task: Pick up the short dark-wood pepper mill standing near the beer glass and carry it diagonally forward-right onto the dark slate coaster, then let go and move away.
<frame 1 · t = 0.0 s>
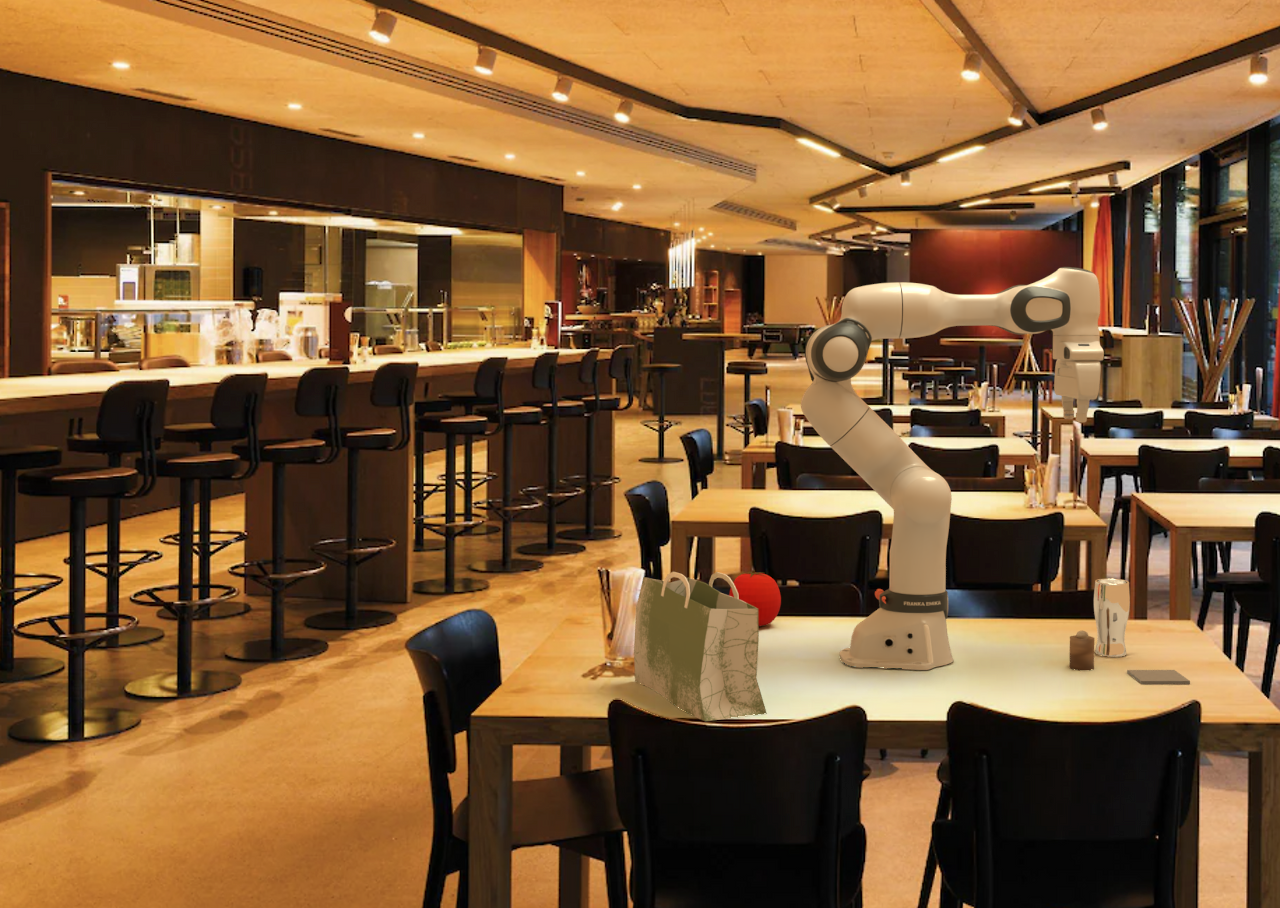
hand: (1074, 420, 298), 48 cm above the table, tool pointing down, fingers open, 8 cm apart
grocery bag: (699, 698, 276), on the table
beer glass: (1110, 655, 307), on the table
pepper mill: (1081, 667, 295), on the table
tomato: (754, 627, 338), on the table
coaster: (1158, 678, 286), on the table
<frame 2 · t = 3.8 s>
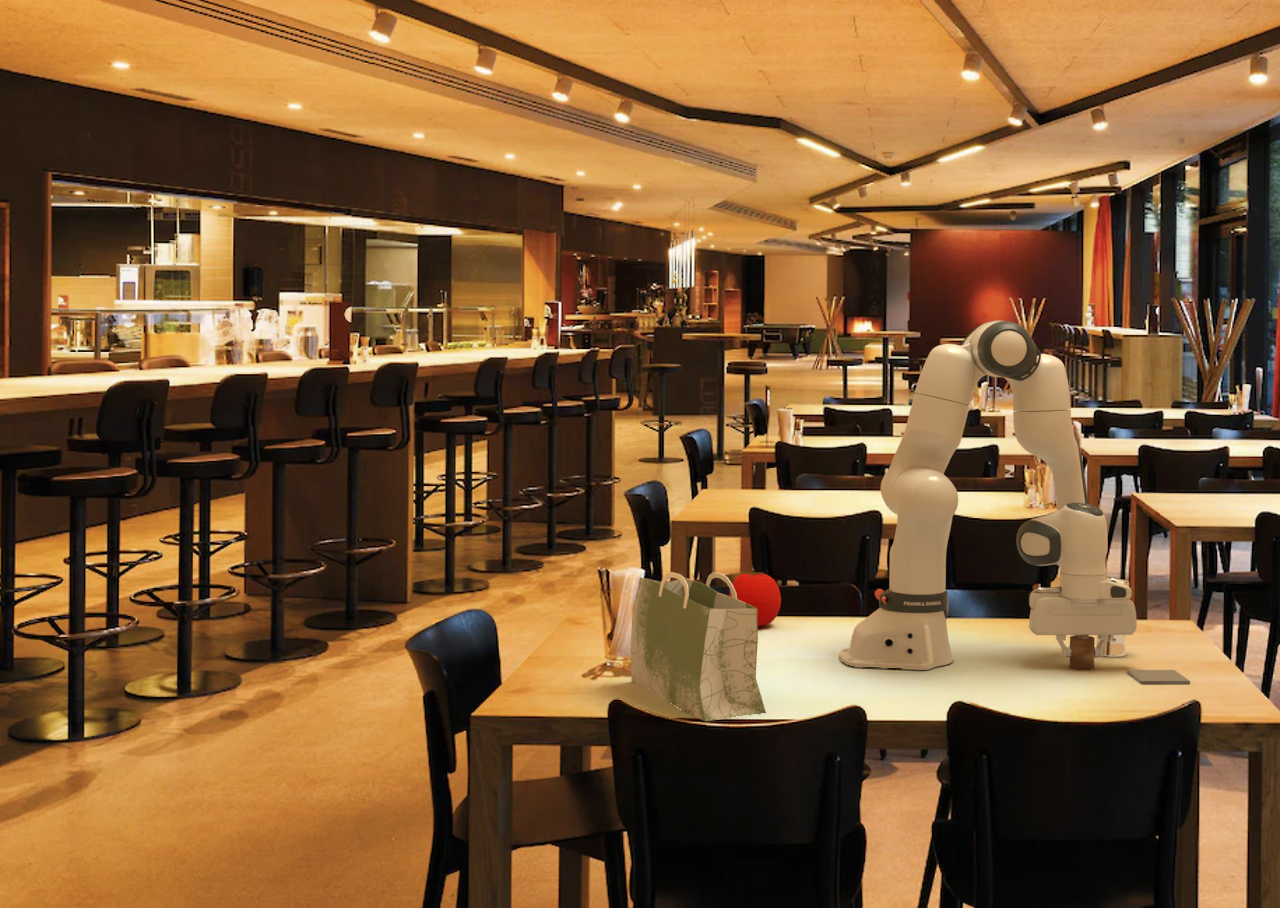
hand: (1081, 657, 295), 2 cm above the table, tool pointing down, fingers closed on pepper mill, 5 cm apart
pepper mill: (1081, 667, 295), on the table, touching gripper
everything else where it was.
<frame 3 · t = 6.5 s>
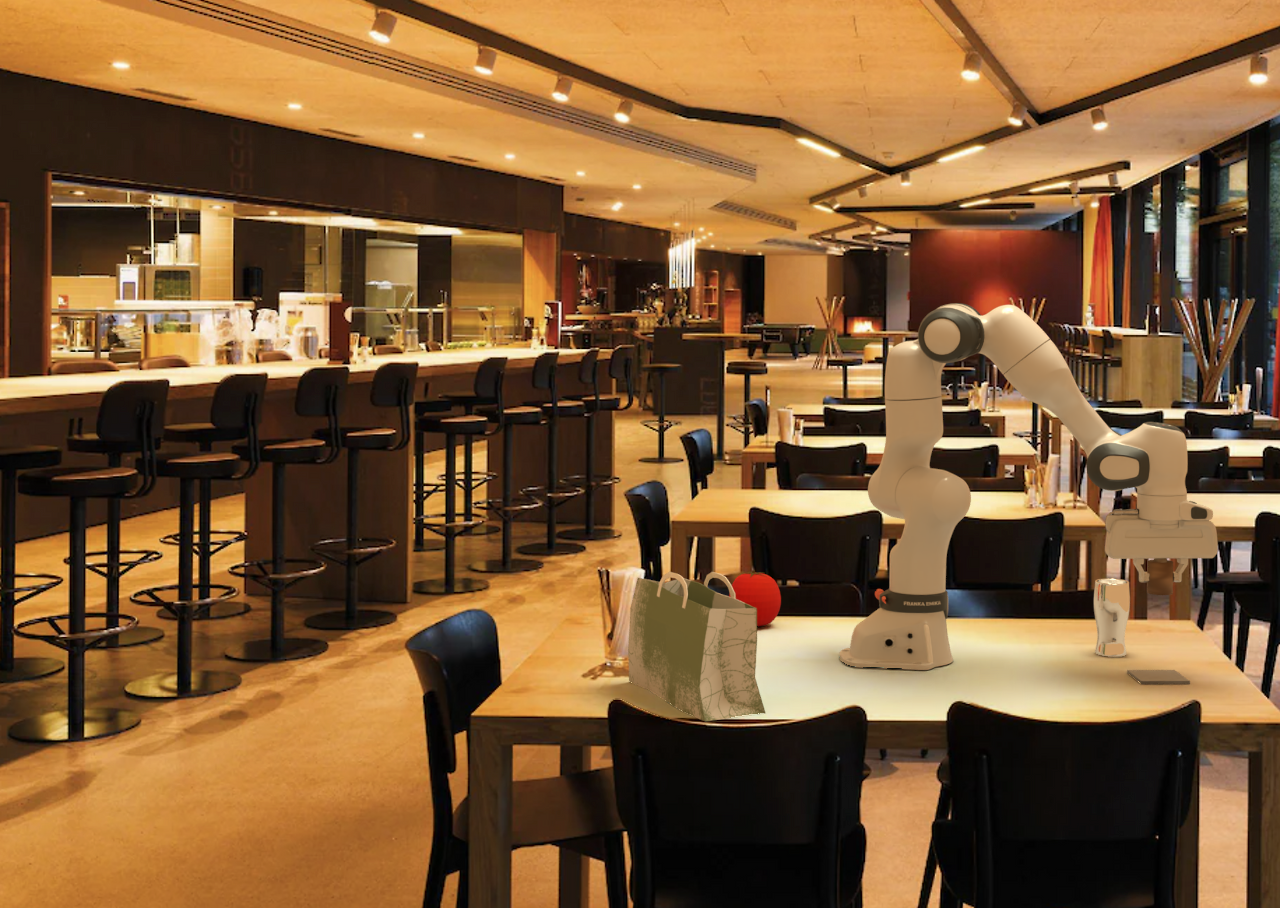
hand: (1160, 581, 284), 19 cm above the table, tool pointing down, fingers closed on pepper mill, 5 cm apart
pepper mill: (1159, 592, 285), point 16 cm above the table, touching gripper
everything else where it was.
when the fingers open (4 cm above the table, at t = 9.4 s): pepper mill drops 1 cm, resting on coaster.
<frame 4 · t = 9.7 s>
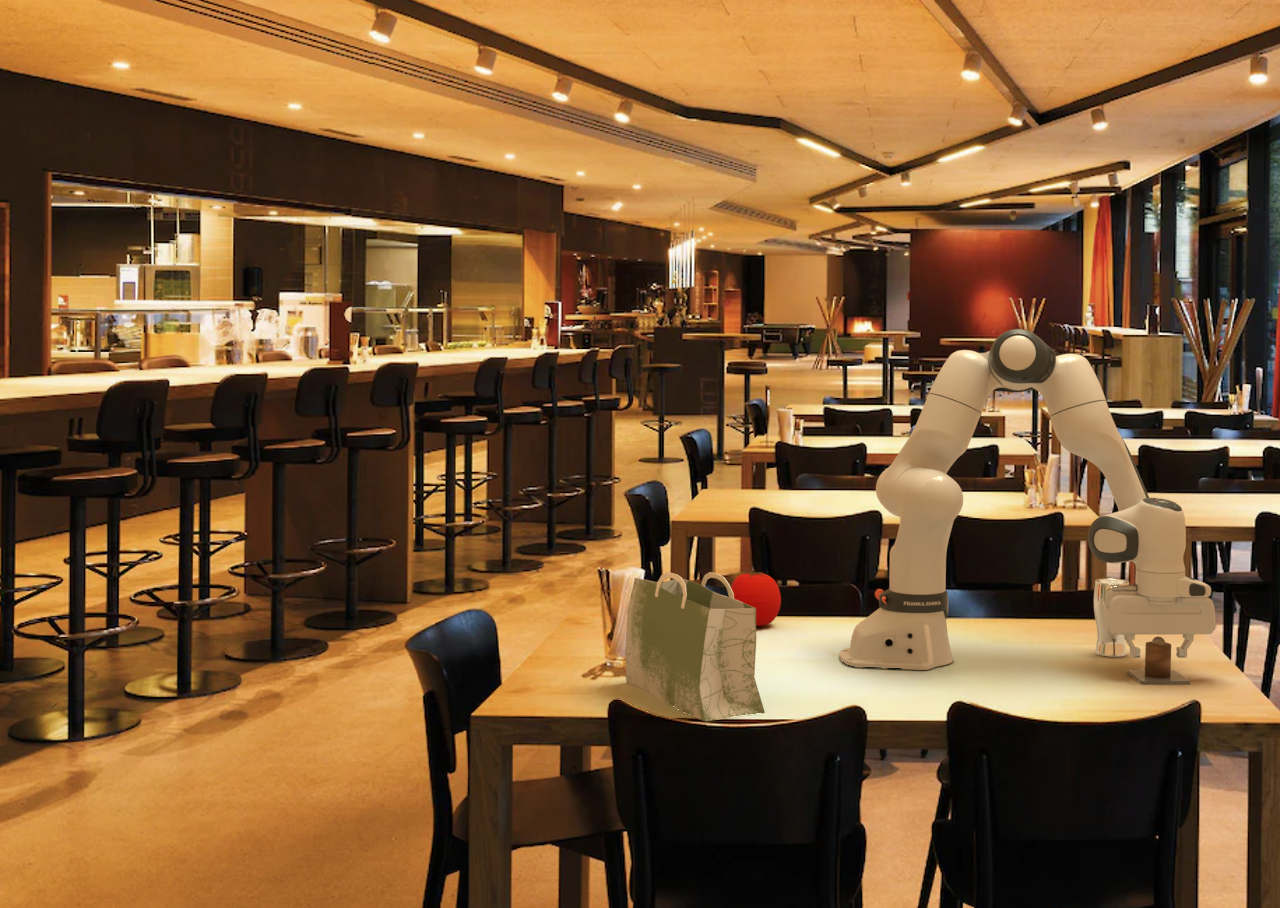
hand: (1158, 657, 286), 4 cm above the table, tool pointing down, fingers open, 7 cm apart
pepper mill: (1157, 675, 286), point 1 cm above the table, touching coaster
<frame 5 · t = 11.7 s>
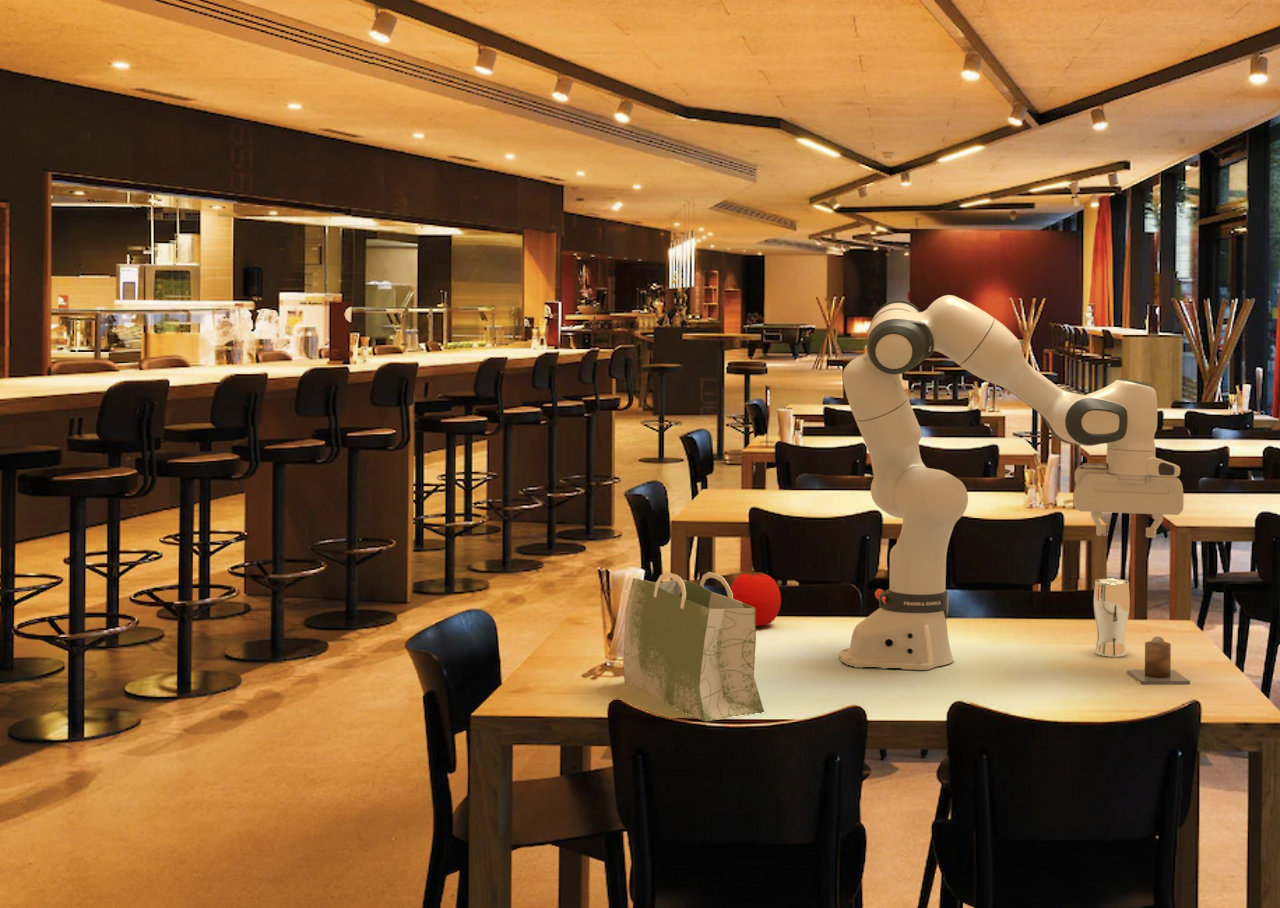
hand: (1125, 536, 289), 26 cm above the table, tool pointing down, fingers open, 8 cm apart
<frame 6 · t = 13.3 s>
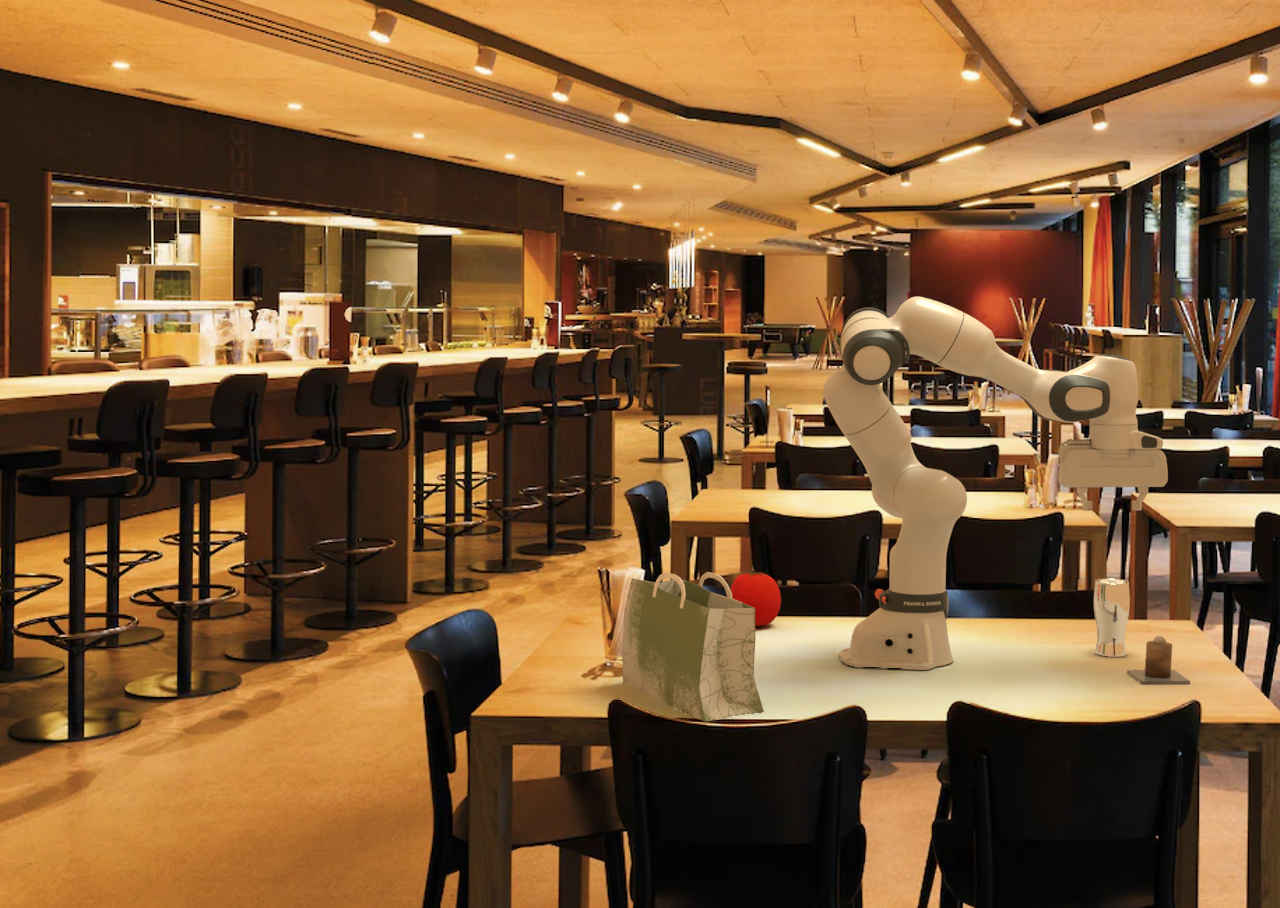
hand: (1112, 510, 291), 31 cm above the table, tool pointing down, fingers open, 8 cm apart
at the end: pepper mill inside the target area on the coaster (0.1 cm from its centre), point 0.7 cm above the coaster's base; pepper mill tilted 2°; the gripper is holding nothing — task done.
